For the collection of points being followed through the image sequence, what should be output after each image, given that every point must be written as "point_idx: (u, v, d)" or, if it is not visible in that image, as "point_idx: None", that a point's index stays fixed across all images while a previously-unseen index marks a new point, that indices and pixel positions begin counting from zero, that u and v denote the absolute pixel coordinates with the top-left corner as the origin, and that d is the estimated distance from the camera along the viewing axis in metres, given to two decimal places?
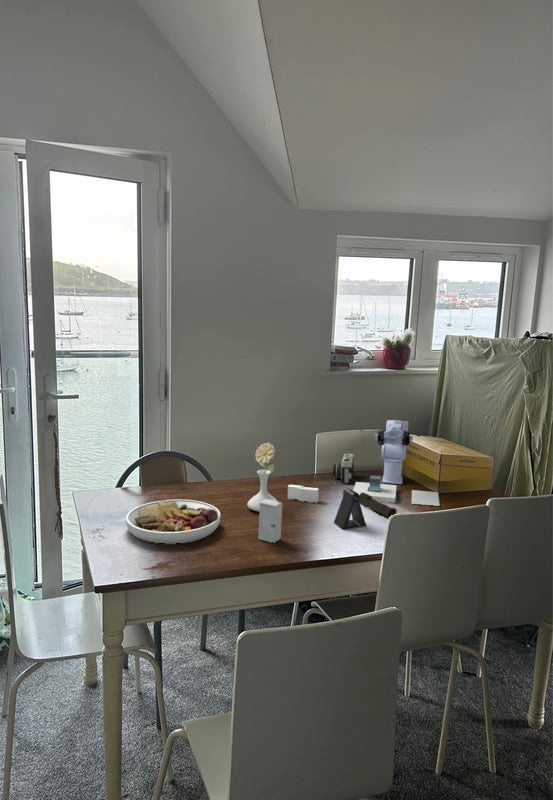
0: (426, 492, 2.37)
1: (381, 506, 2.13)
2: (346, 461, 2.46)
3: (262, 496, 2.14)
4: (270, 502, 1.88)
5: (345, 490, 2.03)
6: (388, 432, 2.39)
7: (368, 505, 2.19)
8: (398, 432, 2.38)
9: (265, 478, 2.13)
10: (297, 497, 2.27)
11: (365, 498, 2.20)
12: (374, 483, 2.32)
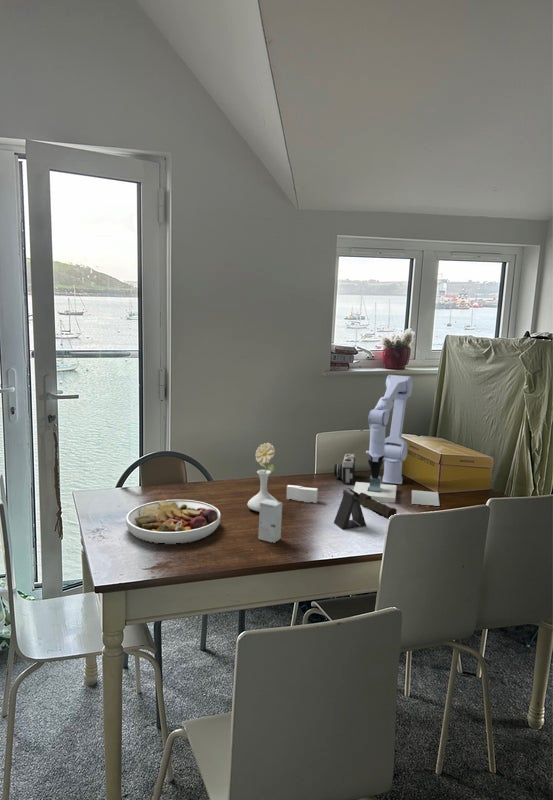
0: (426, 492, 2.37)
1: (381, 506, 2.13)
2: (347, 461, 2.46)
3: (262, 496, 2.14)
4: (270, 502, 1.88)
5: (345, 490, 2.03)
6: None
7: (367, 505, 2.19)
8: None
9: (265, 478, 2.13)
10: (296, 497, 2.27)
11: (364, 498, 2.20)
12: (374, 483, 2.32)
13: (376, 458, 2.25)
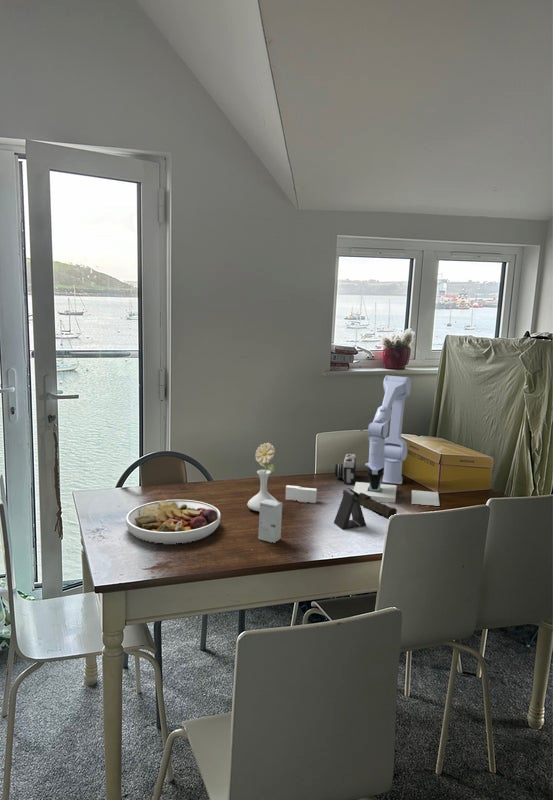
0: (426, 492, 2.37)
1: (381, 506, 2.13)
2: (348, 461, 2.46)
3: (262, 496, 2.14)
4: (270, 502, 1.88)
5: (345, 490, 2.03)
6: None
7: (367, 505, 2.19)
8: None
9: (265, 478, 2.13)
10: (295, 498, 2.27)
11: (364, 498, 2.20)
12: None
13: (375, 471, 2.26)
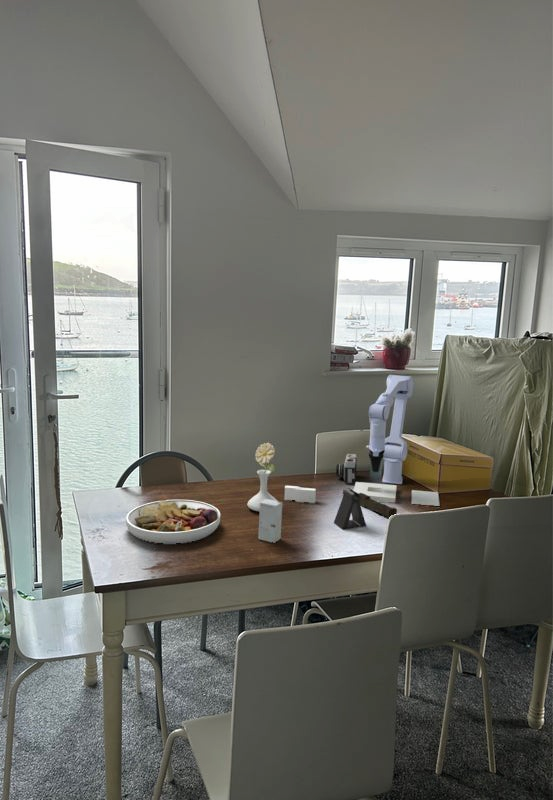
0: (426, 492, 2.37)
1: (381, 506, 2.13)
2: (349, 461, 2.46)
3: (262, 496, 2.14)
4: (270, 502, 1.88)
5: (345, 490, 2.03)
6: None
7: (367, 505, 2.18)
8: None
9: (265, 478, 2.13)
10: (294, 498, 2.26)
11: (364, 498, 2.20)
12: None
13: (376, 453, 2.25)
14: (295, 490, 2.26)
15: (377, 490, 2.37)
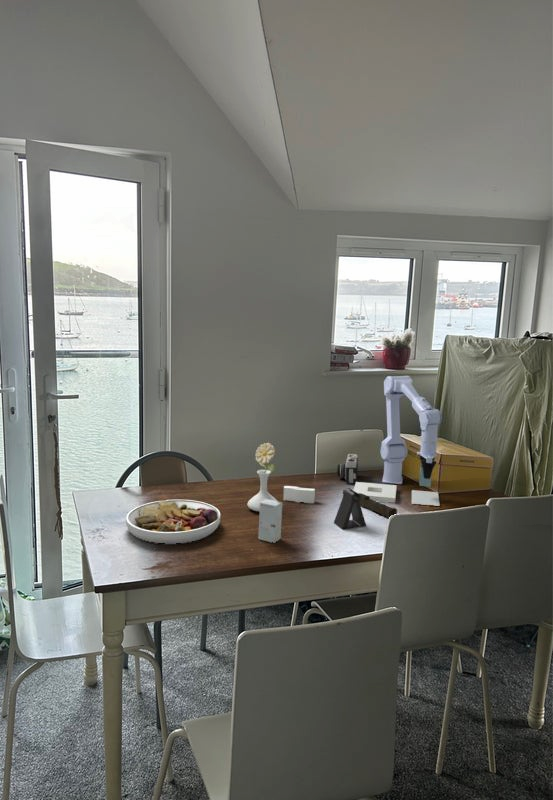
0: (426, 492, 2.37)
1: (381, 506, 2.13)
2: (350, 461, 2.46)
3: (262, 496, 2.14)
4: (270, 502, 1.88)
5: (345, 490, 2.03)
6: None
7: (366, 506, 2.18)
8: None
9: (265, 478, 2.13)
10: (293, 498, 2.26)
11: (363, 499, 2.19)
12: None
13: (430, 459, 2.21)
14: (294, 490, 2.25)
15: (377, 490, 2.37)
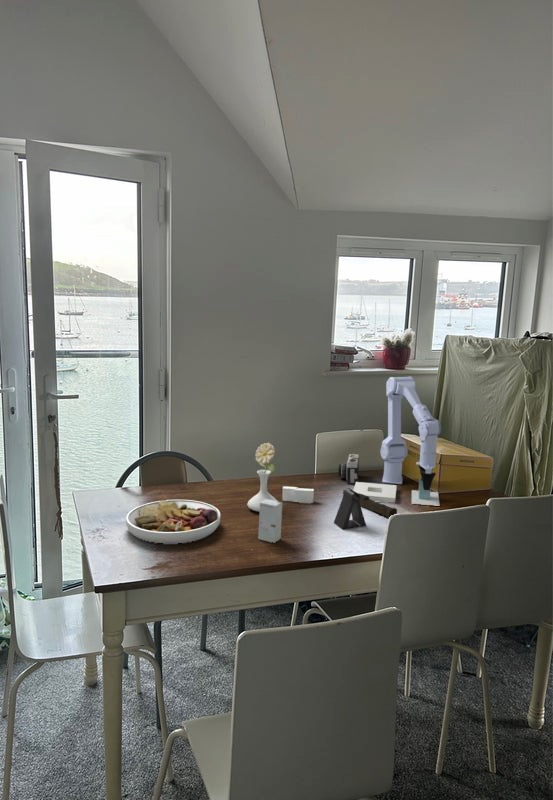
0: None
1: (381, 506, 2.13)
2: (352, 461, 2.46)
3: (262, 496, 2.14)
4: (270, 502, 1.88)
5: (345, 490, 2.03)
6: None
7: (366, 506, 2.18)
8: None
9: (265, 478, 2.13)
10: (292, 499, 2.25)
11: (363, 499, 2.19)
12: None
13: (429, 470, 2.22)
14: (293, 491, 2.25)
15: (377, 490, 2.37)
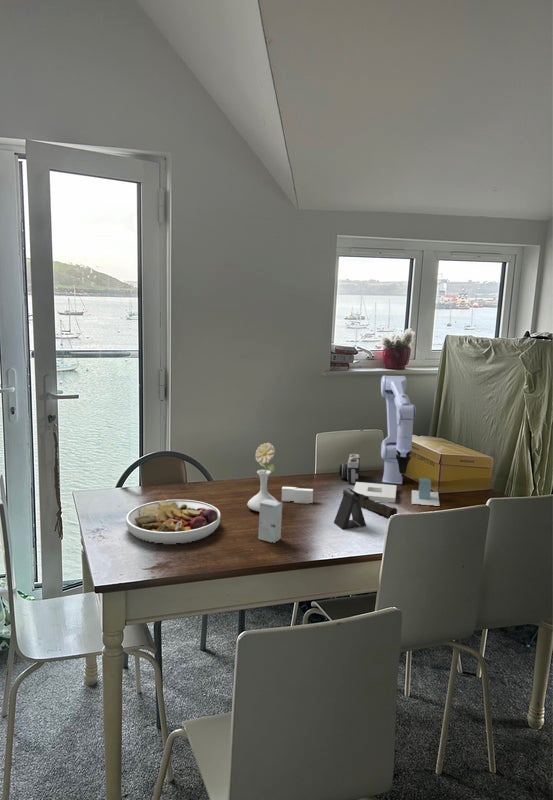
0: None
1: (381, 506, 2.13)
2: (353, 461, 2.46)
3: (262, 496, 2.14)
4: (270, 502, 1.88)
5: (345, 490, 2.03)
6: None
7: (366, 506, 2.18)
8: None
9: (265, 478, 2.13)
10: (291, 499, 2.25)
11: (362, 499, 2.19)
12: (424, 486, 2.28)
13: (404, 453, 2.27)
14: (292, 491, 2.25)
15: (377, 490, 2.37)
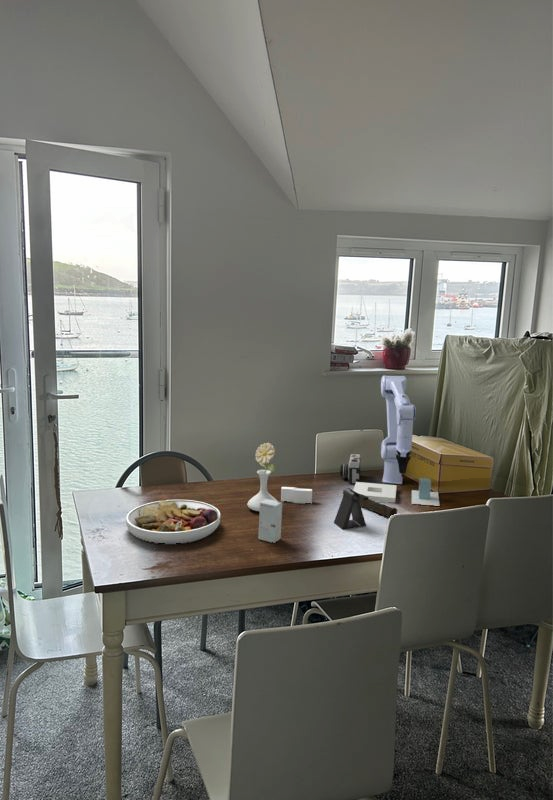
0: None
1: (381, 506, 2.13)
2: (354, 461, 2.46)
3: (262, 496, 2.14)
4: (270, 502, 1.88)
5: (345, 490, 2.03)
6: None
7: (366, 506, 2.18)
8: None
9: (265, 478, 2.13)
10: (291, 499, 2.25)
11: (362, 499, 2.19)
12: (424, 486, 2.28)
13: (404, 453, 2.27)
14: (292, 491, 2.24)
15: (377, 490, 2.37)
